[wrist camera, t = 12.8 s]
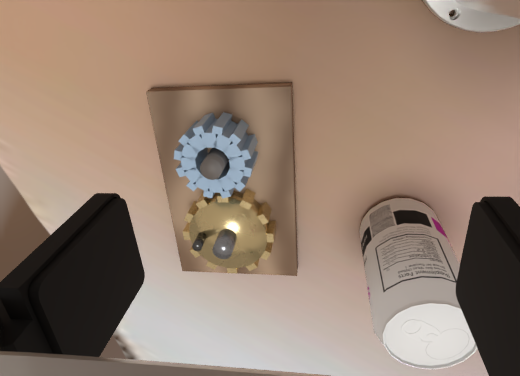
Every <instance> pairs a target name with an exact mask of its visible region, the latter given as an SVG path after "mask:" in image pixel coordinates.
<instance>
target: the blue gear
mask: <svg viewBox="0 0 520 376" xmlns="http://www.w3.org/2000/svg"><path fill="white" fill-rule="evenodd" d="M231 119H232V114H229V113H224V112H223V113H222V115H221V116H220V117H219V118H218V119H215V116H214V114H213V113H210V114H207V115H204V116H203V117H202V119H201V120H200V121H199V122H198V121H196V122H195V123H194V124H193V125H192V126H191V127H190V128H189V129H188V130H187V131H186V133H185V134H184V135H183V136H182V137H181V138H180V140H179V142H180V143H181V144H180V145H179V146H178V147H177V148H176V149H175V151H174V159H176V160H180V161H181V163H180V164H179V165H178V167H177V168H176V171H177V173H178V175H179V177H183V176H186V177H187V178H188V179H189V180H190V181H189V182H188V184H187V185H186V186H187V187H189V188H190V189H191V190H192V191H193V192H194V190H195V189H196V188H197V187H198V188H200V189H202V190H204V193H203V196H204V197H208V198H213V196H214V194H215V193H220V194H221V196H222V199H223V198H227V197H231V195H232V193H233V191H234V188H236V189H237V190H238V191H239V192H240V191H241V190H242V189H243V188H244V187H245V186H246V184H247V181H248V178H249V177H251V174H252V171H253V169H254V166H255V163H256V161H257V156H258V152H257V151H254V150H255V148H256V145H257V143H258V142H257V139H256V136H255V134H253V135H249V136H248V134H247V133H246V130H247V128H248V126H249V125H248V124H247V123H245V122H244V121H243V120H241V121H240V122H239V123H238V124H236V123H235V122H233V121H231ZM207 148H217V149H219V150H221V151H223V152H224V153H225V155H226V156H227V157H228V159H229V162H227V164H226V166H225V168H224V170H223V172H222V174H221V175H220V177H219V178H217V179H215V180H210V179H207V178H205V177H204V176H203V175H202V174H201V172H200V165H201V163H202V162H203V160H204V159H205V157H206V156H207V155H208V151H207Z"/></svg>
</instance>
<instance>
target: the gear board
mask: <svg viewBox="0 0 520 376" xmlns="http://www.w3.org/2000/svg"><path fill="white" fill-rule="evenodd" d="M146 94H147V99H148V104H149V109H150V114H151V118H152V123H153V128H154V133H155V138H156V143H157V148H158V153H159V158H160V163H161V168H162V172H163V177H164V182H165V187H166V192H167V197H168V202H169V207H170V212H171V217H172V222H173V227H174V231H175V236H176V241H177V246H178V251H179V256H180V261H181V266H182V271H196V272H220V273H227V268H225V267H221V266H218V265H217V267H216V268H215V270H214V269H212V268H210V267H208V266H206V264H207V262H208V261H207V260H206V259H204V258H203V257H202V256H201V255H200V256H198V257H196V258H195V256H194V255H193V254H192V253H191V252H190V249H191V247H192V245H193V244H192V242H191V240H184V236H183V230H184V228H185V226H186V225H187V223H188V222H186V221H184V219H185V217H186V215H187V213H188V211H189V209H190V207H191V206H192V204H193V202H194V201H196V202H197V201H198V199H199V197H200V196H201V194H202V192H204V190H202V189H200V188H198V187H197V188H196V189H195V190H194V192H193V191H192V190H191V189H190V188H189V187H187V186H186V185H187V184H188V182H189V181H190V180H189V179H188V178H187V177H186V176H183V177H179V175H178V173H177V171H176V168H177V167H178V165H179V164H180V163H181V161H180V160H176V159H174V151H175V149H176V148H177V147H178V146H179V145H180V144H181V143H180V142H179V140H180V138H181V137H182V136H183V135H184V134H185V133H186V131H187V130H188V129H189V128H190V127H191V126H192V125H193V124H194V123H195V122H196V121H198V122H199V121H200V120H201V119H202V117H203V116H204V115H207V114H210V113H213V114H214V116H215V119H218V118H219V117H220V116H221V115H222V113H223V112H224V113H229V114H232V119H231V121H233V122H235V123H236V124H238V123H239V122H240V121H241V120H243V121H244V122H245V123H247V124H248V125H249V126H248V128H247V130H246V133H247V134H248V136H249V135H253V134H255V136H256V139H257V142H258V143H257V145H256V148H255V150H254V151H257V152H258V156H257V161H256V163H255V166H254V169H253V171H252V174H251V177H249V178H248V181H247V184H246V186H245V187H244V188H243V189H242V190H241V191H240V193H243V194H244V192H245V190H246V188H247V189H249V190H251V191H253V192H255V196H254V200H256V201H257V202H258V203H259V204H260V205H261V204H262V203H264V202H267V204H268V205H269V206H270V208H271V209H272V210H271V214H270V219H269V221H276V233H275V239H274V242H273V245H272V250H271V254H270V255H269V257H268V259H267V260H265V259H263V258H261V257H260V259H259V263H258V268H255V269H253V270H251V271H249V270H248V269H247V268H246V267H241V268H239V269H238V272H237V273H244V274H268V275H292V276H297V269H298V263H297V230H296V198H295V165H294V132H293V100H292V83H275V84H248V85H221V86H194V87H167V88H151V89H150V90H148V91H147V92H146ZM207 151H208V155H207V156H206V157H205V159H204V160H203V162H202V163H201V165H200V172H201V174H202V175H203V176H204V177H205V178H207V179H210V180H215V179H217V178H219V177H220V175H221V174H222V172H223V170H224V168H225V166H226V164H227V162H229V159H228V157H227V156H226V155H225V153H224V152H223V151H221V150H219V149H217V148H207ZM234 191H235V192H239V191H238V190H237V189H236V188H234Z"/></svg>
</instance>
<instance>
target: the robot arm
mask: <svg viewBox="0 0 520 376" xmlns="http://www.w3.org/2000/svg"><path fill="white" fill-rule="evenodd" d="M422 1H423V2H424V3H425V4H426V6H427V7H428V8H429V10H430V11H431V12H432V13H433V14H434V15H435V16H437V17H438V18H439V19H440V20H441V21H443V22H445V23H447V24H449V25H451V26H453V27H456V28H459V29H462V30H466V31H473V32H496V31H500V30H504V29H509V28H512V27H515V26H517V25H520V0H422ZM451 10H454V15H453V16H451V17H450V16H449V12H450V11H451ZM143 282H144V269H143V265H142V261H141V257H140V253H139V250H138V246H137V242H136V238H135V234H134V231H133V227H132V223H131V219H130V215H129V211H128V208H127V204H126V201H125V200H124V199H123V198H120V196H119V195H118V194H116V193H97V194H95V195H94V196H92V197H91V198H90V199H89V200H88V201H87V202H86V203H85V204H84V205H83V206H82V207H81V208H80V209H78V210H77V211H76V212H75V213H74V214H73V215H72V216H71V217H70V218H69V219H68V220H67V221H66V222H64V223H63V224H62V225H61V226H60V227H59V228H58V229H57V230H56V231H55V232H54V233H53V234H52V235H50V236H49V237H48V238H47V239H46V240H45V241H44V242H43V243H42V244H41V245H40V246H39V247H38V248H36V249H35V250H34V251H33V252H32V253H31V254H30V255H29V256H28V257H27V258H26V259H25V260H24V261H22V262H21V263H20V264H19V265H18V266H17V267H16V268H15V269H14V270H13V271H12V272H11V273H10V274H9V275H7V276H6V277H5V278H4V279H3V280H2V281H1V282H0V376H329V375H318V374H306V373H294V372H282V371H269V370H257V369H245V368H233V367H220V366H208V365H195V364H183V363H170V362H157V361H143V360H130V359H116V358H103V357H99V356H100V355H101V353H102V351H103V350H104V348H105V346H106V345H107V343H108V341H109V340H110V338H111V336H112V335H113V333H114V331H115V330H116V328H117V326H118V325H119V323H120V321H121V320H122V318H123V316H124V315H125V313H126V311H127V310H128V308H129V306H130V305H131V303H132V301H133V300H134V298H135V296H136V295H137V293H138V291H139V290H140V288H141V286H142V284H143ZM456 297H457V300H458V303H459V305H460V308H461V310H462V312H463V315H464V317H465V319H466V322H467V324H468V327H469V329H470V331H471V334H472V336H473V338H474V341H475V343H476V346H477V348H478V350H479V353H480V355H481V358H482V360H483V362H484V365H485V367H486V369H487V372H488V374H489V376H520V207H519V206H518V204H517V203H516V202H515V201H514V200H513V199H512V198H511V197H483V198H482V200H481V201H480V202H475V203H474V204H473V207H472V211H471V215H470V220H469V225H468V230H467V234H466V239H465V244H464V249H463V253H462V258H461V263H460V268H459V272H458V277H457V282H456Z"/></svg>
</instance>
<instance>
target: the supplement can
mask: <svg viewBox="0 0 520 376" xmlns="http://www.w3.org/2000/svg"><path fill="white" fill-rule="evenodd" d="M359 232H360V239H361V246H362V253H363V260H364V267H365V274H366V281H367V288H368V295H369V302H370V309H371V316H372V323H373V330H374V333H375V334H376V336H377V337H378V339H379V340H380V342H381V343H382V344H383V345H384V347H385V348H386V349H387V351H388V352H389V354H390V355H391V356H392V357H393V358H395V359H396V360H398V361H399V362H401V363H402V364H405V365H408V366H411V367H414V368H420V369H432V370H433V369H440V368H447V367H451V366H453V365H456V364H458V363H461V362H463V361H465V360H466V359H467V358H469V357H470V356H471V355H472V354H474V353H475V351H476V350H477V346H476V343H475V341H474V338H473V336H472V334H471V331H470V329H469V327H468V324H467V322H466V319H465V317H464V315H463V312H462V310H461V308H460V305H459V303H458V300H457V297H456V282H457V277H458V272H459V268H460V263H459V261H458V259H457V257H456V255H455V253H454V251H453V249H452V247H451V245H450V243H449V241H448V239H447V236H446V234H445V232H444V230H443V228H442V226H441V224H440V222H439V220H438V218H437V216H436V214H435V212H434V211H433V210H432V209H431V208H429V207H428V206H427V205H426V204H424V203H423V202H420V201H417V200H414V199H411V198H394V199H391V200H387V201H384V202H381V203H379V204H378V205H376V206H375V207H373V208H372V209H370V210H369V211H368V213H367V214H366V215H365V217H364V218H363V219H362V222H361V226H360V229H359Z"/></svg>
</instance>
